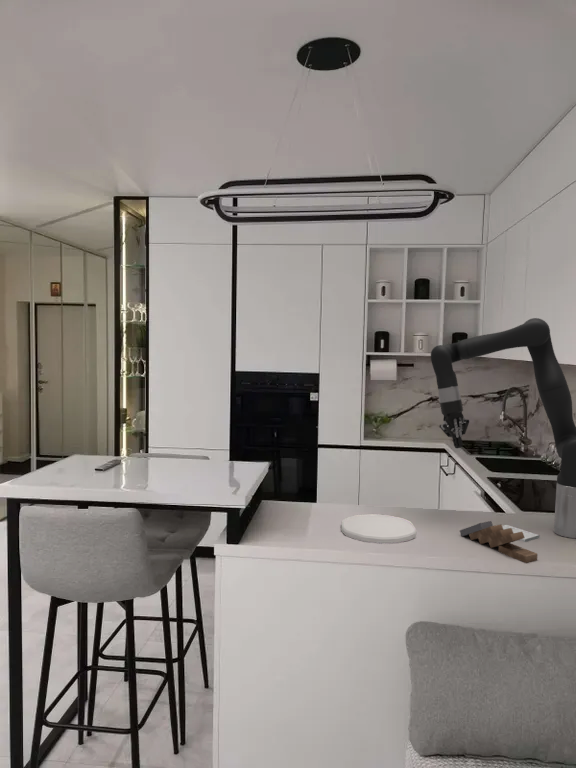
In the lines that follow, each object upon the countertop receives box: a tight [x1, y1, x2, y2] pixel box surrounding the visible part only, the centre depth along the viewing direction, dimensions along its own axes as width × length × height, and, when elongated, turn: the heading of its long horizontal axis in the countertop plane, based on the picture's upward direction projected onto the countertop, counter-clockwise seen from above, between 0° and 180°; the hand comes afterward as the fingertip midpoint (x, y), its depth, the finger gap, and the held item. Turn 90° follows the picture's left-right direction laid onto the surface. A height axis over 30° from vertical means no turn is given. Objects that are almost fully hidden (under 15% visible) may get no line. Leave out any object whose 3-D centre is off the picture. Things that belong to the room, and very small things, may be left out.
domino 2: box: [468, 524, 503, 541], centre depth 182 cm, size 2×5×10 cm
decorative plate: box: [341, 513, 417, 544], centre depth 192 cm, size 25×4×25 cm
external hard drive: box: [502, 524, 541, 543], centre depth 192 cm, size 2×8×12 cm
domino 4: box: [488, 532, 525, 549], centre depth 175 cm, size 2×5×10 cm
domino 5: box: [498, 542, 538, 564], centre depth 172 cm, size 2×5×10 cm
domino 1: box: [459, 520, 494, 537], centre depth 186 cm, size 2×5×10 cm
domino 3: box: [477, 528, 513, 545], centre depth 179 cm, size 2×5×10 cm
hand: (458, 447), depth 202 cm, fingers closed
